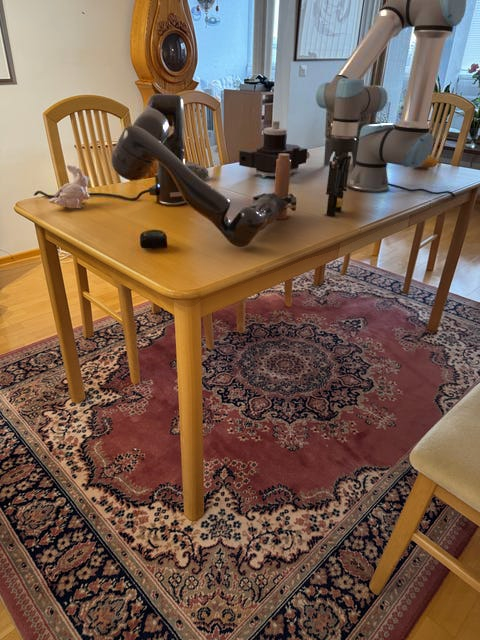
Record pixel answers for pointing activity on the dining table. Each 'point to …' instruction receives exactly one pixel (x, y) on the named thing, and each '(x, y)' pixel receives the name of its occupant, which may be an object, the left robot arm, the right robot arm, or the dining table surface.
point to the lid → (338, 202)
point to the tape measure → (153, 239)
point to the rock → (197, 170)
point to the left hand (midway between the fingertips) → (283, 195)
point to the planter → (363, 121)
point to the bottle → (282, 178)
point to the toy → (429, 162)
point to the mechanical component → (273, 152)
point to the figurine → (72, 190)
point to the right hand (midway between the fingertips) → (333, 213)
